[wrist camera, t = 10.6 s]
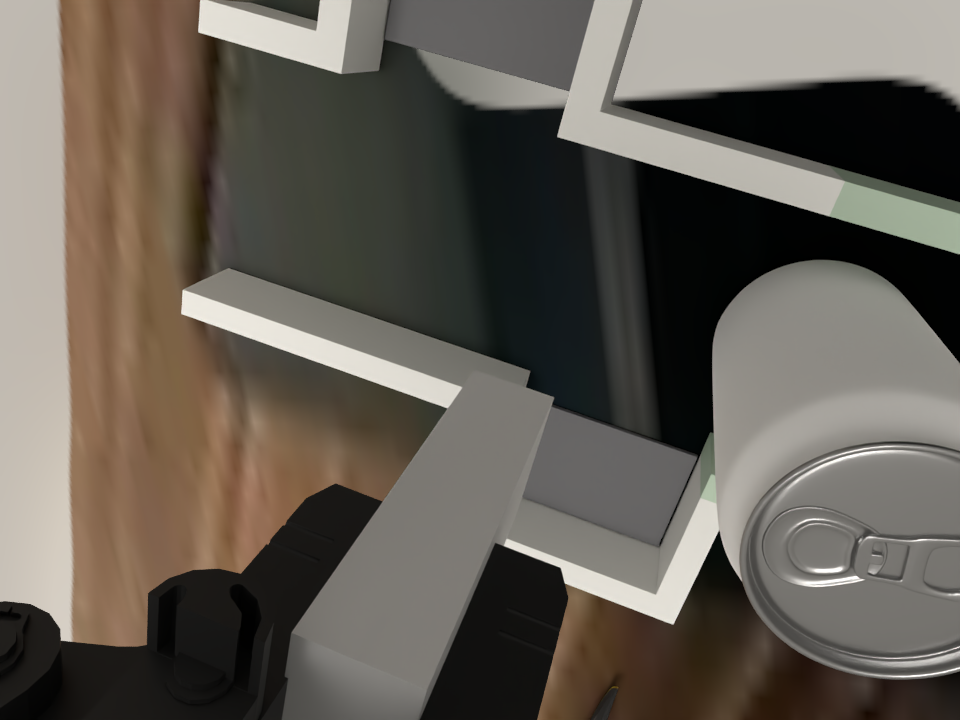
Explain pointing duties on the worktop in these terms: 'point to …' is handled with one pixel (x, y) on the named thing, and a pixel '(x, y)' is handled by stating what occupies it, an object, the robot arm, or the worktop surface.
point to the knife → (605, 705)
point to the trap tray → (446, 367)
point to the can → (841, 469)
